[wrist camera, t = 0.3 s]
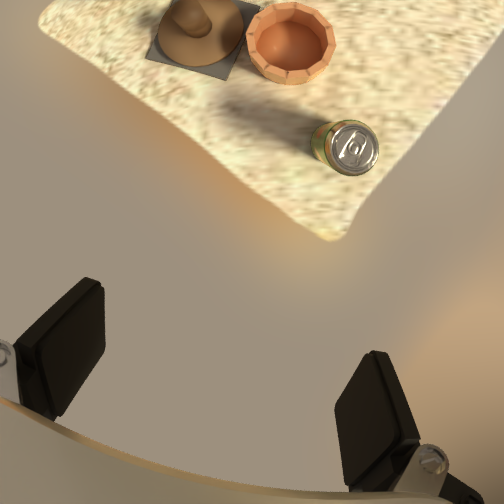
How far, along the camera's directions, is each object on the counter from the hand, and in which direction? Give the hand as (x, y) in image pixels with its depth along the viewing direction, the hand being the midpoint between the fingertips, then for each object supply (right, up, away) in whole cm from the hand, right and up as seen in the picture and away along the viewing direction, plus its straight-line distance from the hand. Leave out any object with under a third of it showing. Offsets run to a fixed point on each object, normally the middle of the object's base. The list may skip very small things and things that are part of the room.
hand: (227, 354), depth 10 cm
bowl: (+5, +27, +21) cm, 35 cm away
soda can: (+10, +16, +25) cm, 32 cm away
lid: (-5, +30, +20) cm, 37 cm away
